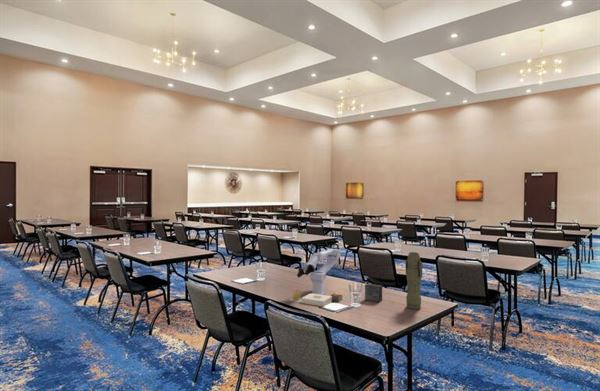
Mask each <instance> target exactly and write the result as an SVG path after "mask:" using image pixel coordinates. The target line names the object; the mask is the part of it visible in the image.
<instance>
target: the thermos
mask: <svg viewBox="0 0 600 391" xmlns="http://www.w3.org/2000/svg"><path fill="white" fill-rule="evenodd" d="M420 256H421V255H420V254H419V252H415V251H414V252H413V251H411V252H409V253H408V255H407V259H406V260H405V275H406V280H407V281H406V282H407V284H406V285H407V288H406V289H407V291H406V292H407V293H406V301H405V302H406V308H407V309H409V310H420V309H421V308H422V306H421V305H422V296H421V281H422V278H423V262H422V261H421V257H420Z"/></svg>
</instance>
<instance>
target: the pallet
mask: <svg viewBox="0 0 600 391" xmlns="http://www.w3.org/2000/svg"><path fill="white" fill-rule="evenodd" d="M301 298H302V301H301V303H302V304H306V305H314V306H318V307H319V306H320V307H321V306H324V307H326V306H328V305H329V304H330V303H332V302H333V301H332V296H330V295H326V294H323V295H320V294H314V293H313V292H311V293H308V294H306V295H304V296H302V297H301ZM325 305H326V306H325Z"/></svg>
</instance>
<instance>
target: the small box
mask: <svg viewBox="0 0 600 391" xmlns="http://www.w3.org/2000/svg"><path fill="white" fill-rule="evenodd" d="M364 301H369V302H373V303H381V302H382V301H383V285H381V284H375V283H367V284H365V285H364Z"/></svg>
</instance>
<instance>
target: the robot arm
mask: <svg viewBox="0 0 600 391" xmlns="http://www.w3.org/2000/svg"><path fill="white" fill-rule="evenodd" d="M340 258H341V250H340V249H338V248H337V249H336V248H334V249H333V248H327V249H326V250H324V249H322V250H320V251H318V252H314V253H312V254H311V256H310V259H309V260H308V261H307V262H304V263H303V264H304V265H303V267H299V268H298V271H297V274H296V276H297V278H299V279H300V278H301V277H302V276H304V275H305V276H309V280H310V281H311V282H312V293H314V294H320V295H326V292H325V282H324V281H325V280H326V279H327V273H328V272H330V270H331V269H332V267H333V266H335V264H336V262H337V261H338V260H339V259H340ZM325 259H326V262H325V263H324V264H323V265H322V266H321V267H320V268H319V269H317V270H315V269H316V268H317V264H319V262H320V263H321V262H323V260H325ZM309 274H310V275H309Z"/></svg>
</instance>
